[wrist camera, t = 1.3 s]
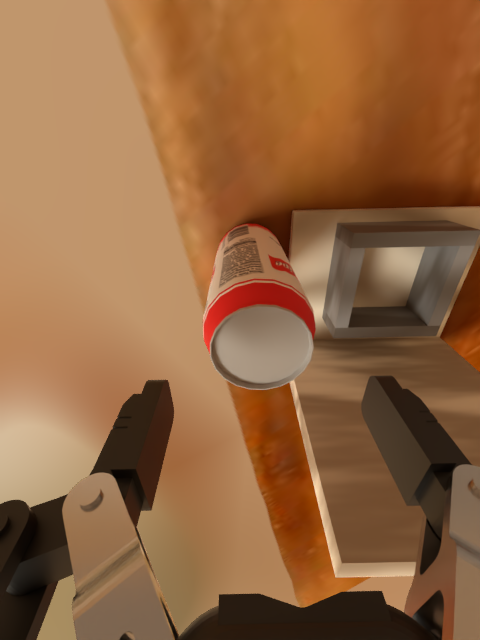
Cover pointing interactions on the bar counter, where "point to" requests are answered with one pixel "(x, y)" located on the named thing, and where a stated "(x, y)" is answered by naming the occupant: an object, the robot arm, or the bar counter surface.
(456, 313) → the bar counter surface
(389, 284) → the can rack
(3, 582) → the robot arm
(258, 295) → the beer can
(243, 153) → the bar counter surface
